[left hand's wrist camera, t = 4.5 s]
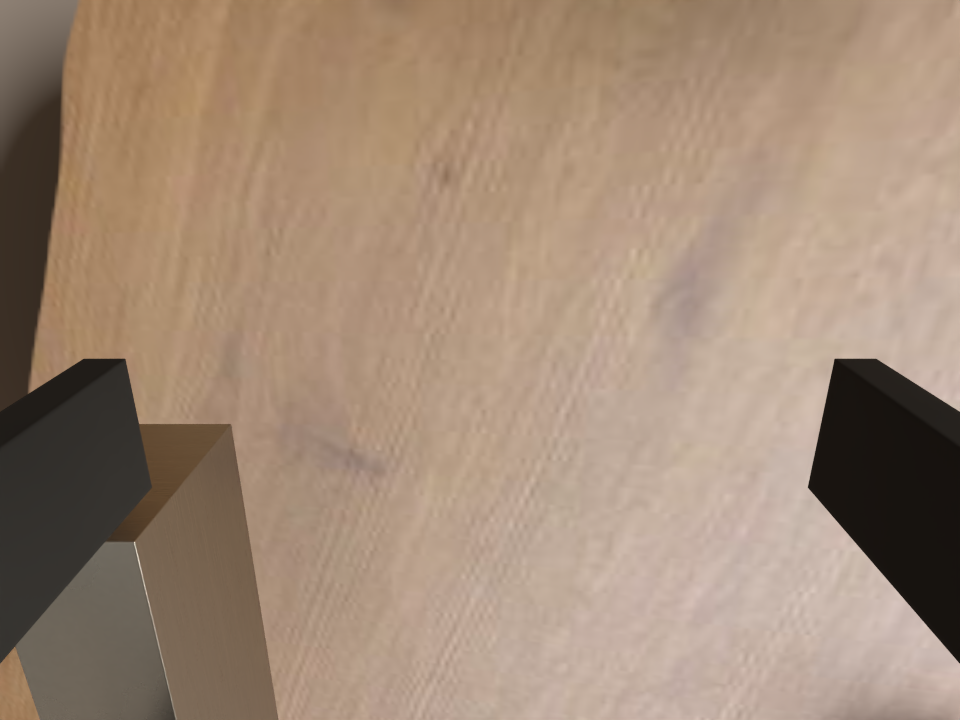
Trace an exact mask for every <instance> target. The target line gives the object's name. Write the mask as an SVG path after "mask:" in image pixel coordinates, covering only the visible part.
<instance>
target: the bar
mask: <svg viewBox="0 0 960 720" xmlns="http://www.w3.org/2000/svg"><path fill="white" fill-rule="evenodd" d="M139 427H140V432H141V437H142V442H143V446H144V451H145V456H146V461H147V466H148V470H149V475H150V480H151V485H152V488H151V489H150V490H149V492H148V493H147V494H146V495H145V496H144V497H143V499H142V500H141V501H140V502H139V503H138V504H137V506H136V507H135V508H134V509H133V510H132V511H131V512H130V514H129V515H128V516H127V517H126V518H125V519H124V521H123V522H122V523H121V524H120V525H119V526H118V528H117V529H116V530H115V531H114V532H113V533H112V534H111V536H110V537H109V538H108V539H107V540H106V541H105V543H104V544H103V545H102V546H101V547H100V548H99V550H98V551H97V552H96V553H95V554H94V555H93V557H92V558H91V559H90V560H89V561H88V562H87V563H86V565H85V566H84V567H83V568H82V569H81V570H80V572H79V573H78V574H77V575H76V576H75V577H74V579H73V580H72V581H71V582H70V583H69V584H68V585H67V587H66V588H65V589H64V590H63V591H62V592H61V594H60V595H59V596H58V597H57V598H56V599H55V601H54V602H53V603H52V604H51V605H50V606H49V608H48V609H47V610H46V611H45V612H44V613H43V614H42V616H41V617H40V618H39V619H38V620H37V621H36V623H35V624H34V625H33V626H32V627H31V628H30V630H29V631H28V632H27V633H26V634H25V635H24V636H23V638H22V639H21V640H20V641H19V642H18V643H17V645H16V646H15V647H16V650H17V653H18V656H19V659H20V661H21V664H22V667H23V670H24V673H25V676H26V679H27V682H28V685H29V688H30V691H31V694H32V697H33V700H34V703H35V706H36V709H37V712H38V715H39V718H40V720H278V715H277V708H276V702H275V696H274V690H273V683H272V677H271V671H270V665H269V658H268V652H267V646H266V640H265V633H264V627H263V621H262V615H261V608H260V602H259V596H258V590H257V583H256V577H255V571H254V565H253V558H252V552H251V546H250V540H249V533H248V527H247V521H246V515H245V508H244V502H243V496H242V490H241V484H240V477H239V471H238V465H237V459H236V452H235V446H234V440H233V434H232V427H231V424H139Z"/></svg>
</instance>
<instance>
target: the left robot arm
mask: <svg viewBox="0 0 960 720" xmlns="http://www.w3.org/2000/svg"><path fill="white" fill-rule="evenodd" d="M151 488H152V485H151V480H150V475H149V470H148V466H147V461H146V456H145V451H144V446H143V442H142V437H141V432H140V427H139V422H138V418H137V413H136V408H135V403H134V398H133V394H132V389H131V384H130V379H129V374H128V370H127V365H126V360H125V359H83V360H81V361H80V362H78V363H77V364H75V365H73V366H72V367H70V368H69V369H67V370H65V371H64V372H62V373H61V374H59V375H58V376H56V377H54V378H53V379H51V380H50V381H48V382H47V383H45V384H43V385H42V386H40V387H39V388H37V389H36V390H34V391H32V392H31V393H29V394H28V395H26V396H25V397H23V398H21V399H20V400H18V401H17V402H15V403H13V404H12V405H10V406H9V407H7V408H6V409H4V410H2V411H1V412H0V663H1V662H2V661H3V660H4V659H5V657H6V656H7V655H8V654H9V653H10V652H11V650H12V649H13V648H14V647H15V646H16V645H17V643H18V642H19V641H20V640H21V639H22V638H23V636H24V635H25V634H26V633H27V632H28V631H29V630H30V628H31V627H32V626H33V625H34V624H35V623H36V621H37V620H38V619H39V618H40V617H41V616H42V614H43V613H44V612H45V611H46V610H47V609H48V608H49V606H50V605H51V604H52V603H53V602H54V601H55V599H56V598H57V597H58V596H59V595H60V594H61V592H62V591H63V590H64V589H65V588H66V587H67V585H68V584H69V583H70V582H71V581H72V580H73V579H74V577H75V576H76V575H77V574H78V573H79V572H80V570H81V569H82V568H83V567H84V566H85V565H86V563H87V562H88V561H89V560H90V559H91V558H92V557H93V555H94V554H95V553H96V552H97V551H98V550H99V548H100V547H101V546H102V545H103V544H104V543H105V541H106V540H107V539H108V538H109V537H110V536H111V534H112V533H113V532H114V531H115V530H116V529H117V528H118V526H119V525H120V524H121V523H122V522H123V521H124V519H125V518H126V517H127V516H128V515H129V514H130V512H131V511H132V510H133V509H134V508H135V507H136V506H137V504H138V503H139V502H140V501H141V500H142V499H143V497H144V496H145V495H146V494H147V493H148V492H149V490H150V489H151ZM808 488H809V489H810V490H811V492H812V493H813V494H814V495H815V496H816V497H817V499H818V500H819V501H820V502H821V503H822V504H823V506H824V507H825V508H826V509H827V510H828V511H829V512H830V514H831V515H832V516H833V517H834V518H835V519H836V521H837V522H838V523H839V524H840V525H841V526H842V528H843V529H844V530H845V531H846V532H847V533H848V534H849V536H850V537H851V538H852V539H853V540H854V541H855V543H856V544H857V545H858V546H859V547H860V548H861V550H862V551H863V552H864V553H865V554H866V555H867V557H868V558H869V559H870V560H871V561H872V562H873V563H874V565H875V566H876V567H877V568H878V569H879V570H880V572H881V573H882V574H883V575H884V576H885V577H886V579H887V580H888V581H889V582H890V583H891V584H892V585H893V587H894V588H895V589H896V590H897V591H898V592H899V594H900V595H901V596H902V597H903V598H904V599H905V601H906V602H907V603H908V604H909V605H910V606H911V608H912V609H913V610H914V611H915V612H916V613H917V614H918V616H919V617H920V618H921V619H922V620H923V621H924V623H925V624H926V625H927V626H928V627H929V628H930V630H931V631H932V632H933V633H934V634H935V635H936V636H937V638H938V639H939V640H940V641H941V642H942V643H943V645H944V646H945V647H946V648H947V649H948V650H949V652H950V653H951V654H952V655H953V656H954V657H955V659H956V660H957V661H958V662H959V663H960V412H959V411H958V410H956V409H954V408H953V407H951V406H950V405H948V404H947V403H945V402H943V401H942V400H940V399H939V398H937V397H935V396H934V395H932V394H931V393H929V392H928V391H926V390H924V389H923V388H921V387H920V386H918V385H917V384H915V383H913V382H912V381H910V380H909V379H907V378H906V377H904V376H902V375H901V374H899V373H898V372H896V371H895V370H893V369H891V368H890V367H888V366H887V365H885V364H883V363H882V362H880V361H879V360H877V359H835V360H834V365H833V370H832V374H831V379H830V384H829V389H828V394H827V398H826V403H825V408H824V413H823V418H822V422H821V427H820V432H819V437H818V442H817V446H816V451H815V456H814V461H813V465H812V470H811V475H810V480H809V485H808Z"/></svg>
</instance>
